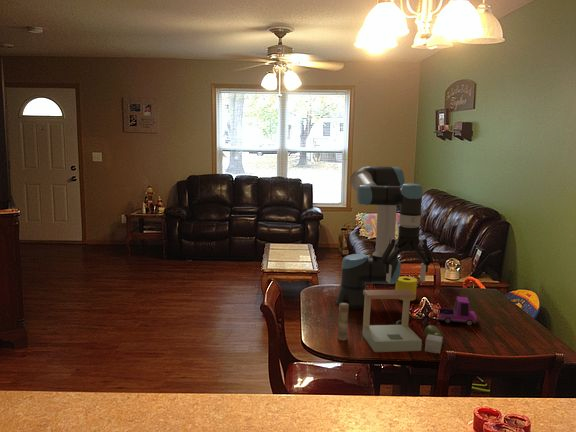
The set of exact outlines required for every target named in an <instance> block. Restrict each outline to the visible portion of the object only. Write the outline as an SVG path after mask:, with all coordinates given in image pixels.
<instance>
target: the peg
mask: <svg viewBox="0 0 576 432" xmlns="http://www.w3.org/2000/svg"><path fill="white" fill-rule="evenodd" d="M338 307H339V309H338V322H337V324H338V325H337V340H338V341H342V342H343V341H347V339H348V328H349V327H348V326H349V323H348V322H349V310H350V309H349V304H347V303H340V304H339V305H338Z"/></svg>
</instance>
